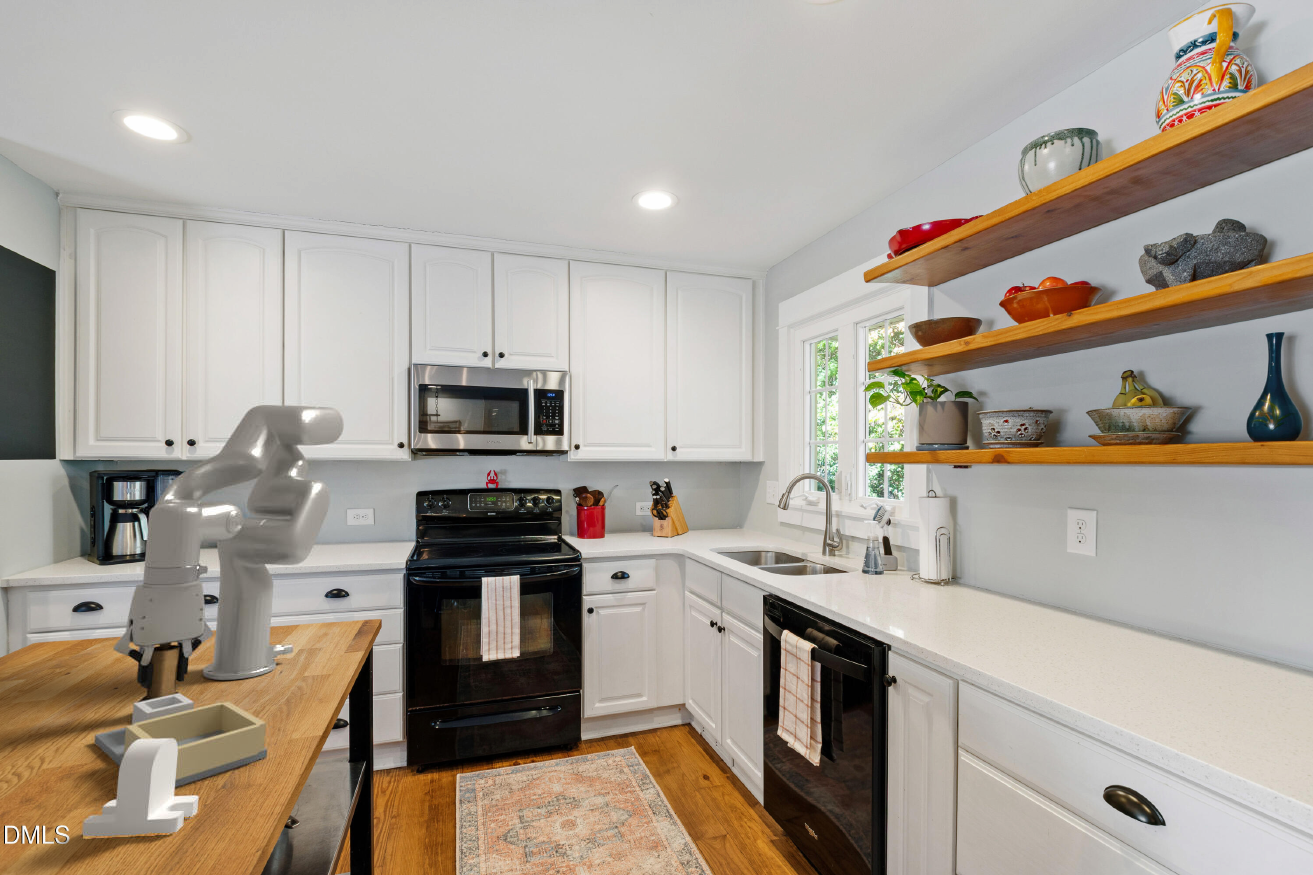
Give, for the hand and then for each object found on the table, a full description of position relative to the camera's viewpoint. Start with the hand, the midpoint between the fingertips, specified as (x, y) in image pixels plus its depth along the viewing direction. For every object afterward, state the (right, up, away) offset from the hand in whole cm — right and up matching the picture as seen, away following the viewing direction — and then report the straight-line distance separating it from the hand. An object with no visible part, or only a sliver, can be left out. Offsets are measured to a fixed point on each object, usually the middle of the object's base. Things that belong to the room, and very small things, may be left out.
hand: (162, 681), depth 107 cm
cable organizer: (+23, -5, -32) cm, 40 cm away
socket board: (+13, -5, -13) cm, 19 cm away
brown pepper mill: (0, -5, 0) cm, 5 cm away
